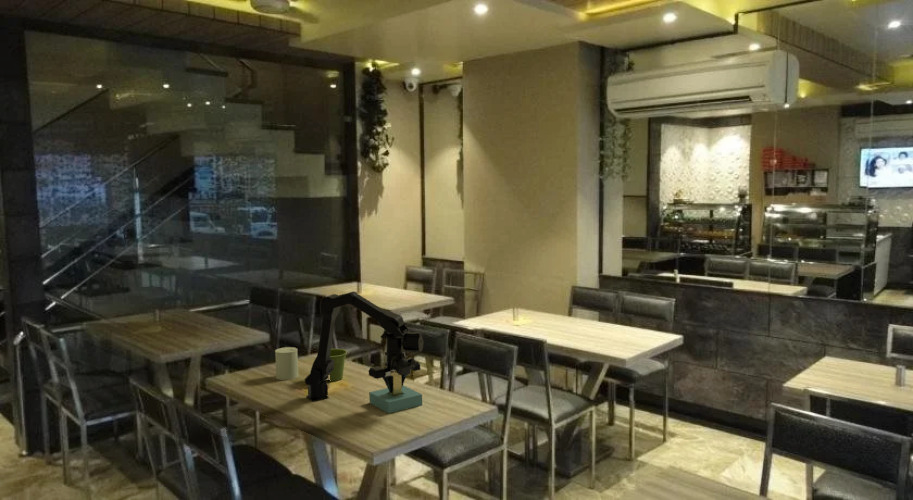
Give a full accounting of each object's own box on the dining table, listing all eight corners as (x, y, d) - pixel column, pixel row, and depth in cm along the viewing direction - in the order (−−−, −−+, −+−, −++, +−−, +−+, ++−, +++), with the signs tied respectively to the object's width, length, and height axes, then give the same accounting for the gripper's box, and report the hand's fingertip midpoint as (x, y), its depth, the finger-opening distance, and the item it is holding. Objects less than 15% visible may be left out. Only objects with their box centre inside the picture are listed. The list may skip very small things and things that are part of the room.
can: (295, 380, 267) (294, 351, 266) (273, 380, 268) (271, 351, 266) (301, 373, 277) (300, 345, 275) (279, 373, 277) (278, 346, 275)
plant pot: (314, 378, 269) (313, 351, 268) (339, 373, 276) (339, 347, 275) (326, 385, 260) (325, 357, 259) (353, 379, 267) (352, 352, 266)
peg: (393, 400, 234) (393, 376, 233) (389, 398, 237) (388, 374, 236) (401, 398, 236) (401, 374, 235) (397, 396, 239) (396, 372, 238)
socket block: (388, 413, 227) (388, 402, 227) (369, 402, 239) (369, 392, 238) (422, 405, 235) (422, 394, 235) (402, 395, 247) (402, 384, 246)
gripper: (382, 359, 223) (383, 403, 225) (428, 350, 234) (428, 392, 235) (367, 352, 232) (368, 394, 234) (411, 344, 243) (412, 384, 244)
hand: (395, 391), depth 237 cm, fingers closed on peg, 3 cm apart
